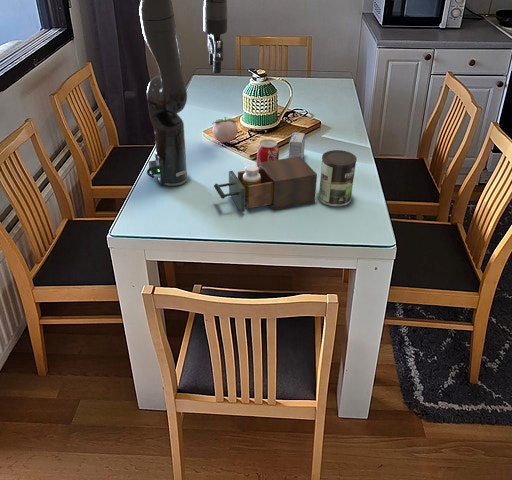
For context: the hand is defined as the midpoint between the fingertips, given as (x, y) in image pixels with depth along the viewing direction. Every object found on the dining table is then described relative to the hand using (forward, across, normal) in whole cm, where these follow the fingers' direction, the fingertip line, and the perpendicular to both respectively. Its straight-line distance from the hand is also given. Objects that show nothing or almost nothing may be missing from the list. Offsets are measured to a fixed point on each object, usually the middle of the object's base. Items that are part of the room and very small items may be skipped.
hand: (214, 68), depth 187 cm
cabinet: (+29, -36, -17) cm, 49 cm away
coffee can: (+28, -40, -31) cm, 59 cm away
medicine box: (+28, -13, -27) cm, 41 cm away
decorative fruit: (+29, +6, -5) cm, 30 cm away
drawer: (+28, -38, -3) cm, 47 cm away
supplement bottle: (+27, -38, -5) cm, 47 cm away
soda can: (+29, -23, -14) cm, 39 cm away
